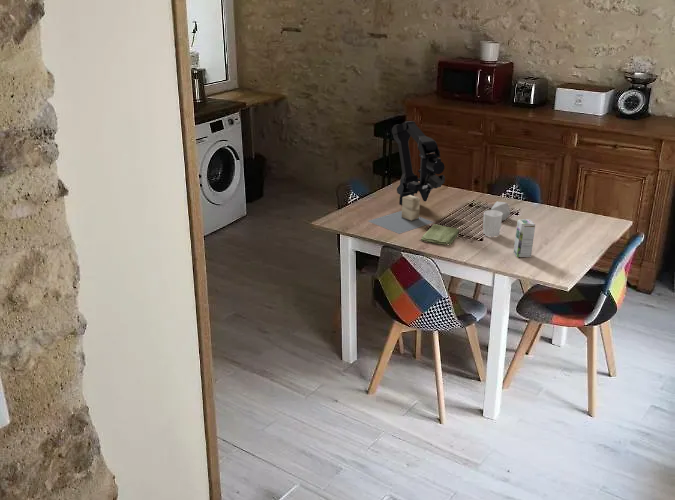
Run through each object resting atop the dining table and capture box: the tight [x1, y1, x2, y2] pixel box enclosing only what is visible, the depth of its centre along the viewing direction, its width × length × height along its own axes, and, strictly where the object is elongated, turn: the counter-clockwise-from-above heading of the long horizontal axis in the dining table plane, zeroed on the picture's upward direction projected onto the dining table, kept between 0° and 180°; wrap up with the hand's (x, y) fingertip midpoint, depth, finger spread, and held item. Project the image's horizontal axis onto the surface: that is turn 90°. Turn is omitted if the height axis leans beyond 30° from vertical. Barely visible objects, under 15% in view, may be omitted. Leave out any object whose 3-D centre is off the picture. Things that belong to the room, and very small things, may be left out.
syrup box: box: [513, 218, 536, 258], centre depth 280 cm, size 6×6×14 cm
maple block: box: [401, 195, 421, 222], centre depth 316 cm, size 5×6×10 cm
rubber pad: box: [367, 210, 435, 235], centre depth 314 cm, size 22×20×1 cm
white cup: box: [482, 209, 503, 238], centre depth 301 cm, size 8×8×10 cm
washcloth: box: [420, 223, 460, 246], centre depth 300 cm, size 13×18×3 cm
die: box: [490, 200, 511, 221], centre depth 320 cm, size 8×9×10 cm
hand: (424, 201), depth 321 cm, fingers closed
